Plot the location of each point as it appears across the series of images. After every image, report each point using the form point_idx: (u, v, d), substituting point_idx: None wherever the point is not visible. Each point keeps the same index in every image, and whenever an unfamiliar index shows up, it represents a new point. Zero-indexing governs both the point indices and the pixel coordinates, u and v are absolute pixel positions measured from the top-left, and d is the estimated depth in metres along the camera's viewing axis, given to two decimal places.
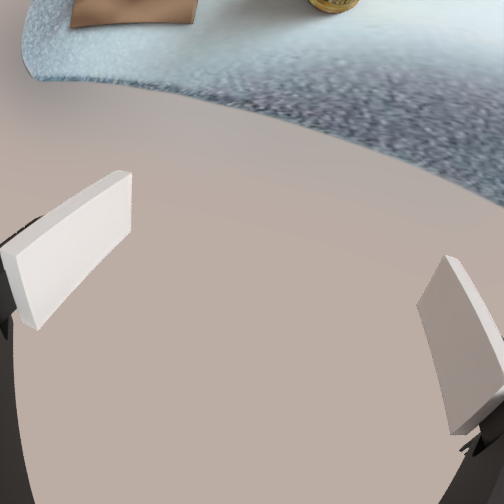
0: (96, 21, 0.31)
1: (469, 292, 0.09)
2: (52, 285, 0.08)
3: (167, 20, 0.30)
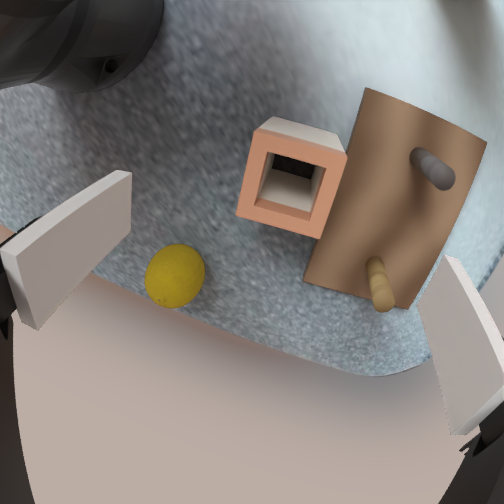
0: (426, 270, 0.28)
1: (469, 292, 0.09)
2: (52, 285, 0.08)
3: (475, 171, 0.23)
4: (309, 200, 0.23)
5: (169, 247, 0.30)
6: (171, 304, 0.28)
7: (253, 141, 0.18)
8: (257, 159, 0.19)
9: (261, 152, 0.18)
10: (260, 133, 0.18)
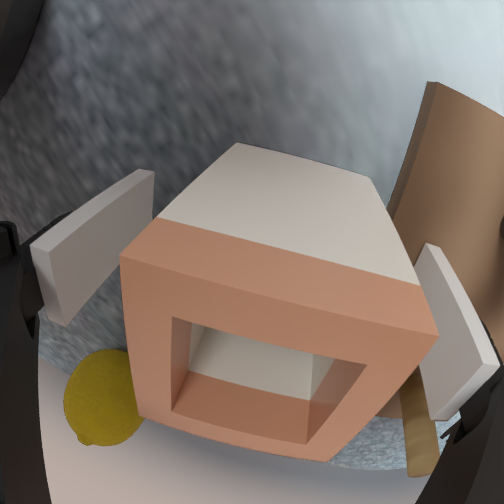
0: None
1: (448, 278, 0.10)
2: (80, 282, 0.09)
3: None
4: None
5: (91, 362, 0.17)
6: (102, 445, 0.15)
7: (125, 285, 0.05)
8: (150, 332, 0.06)
9: (156, 317, 0.06)
10: (140, 262, 0.05)
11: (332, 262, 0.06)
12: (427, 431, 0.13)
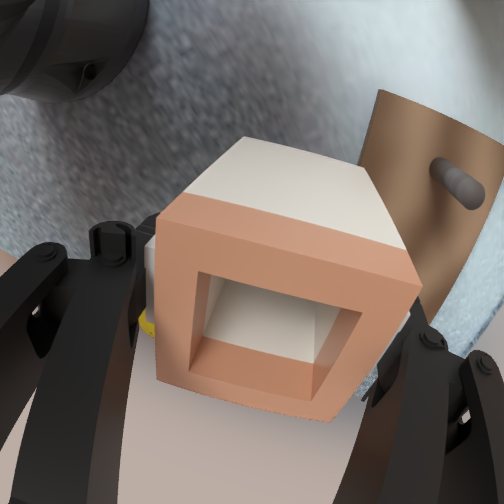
0: (444, 292, 0.25)
1: None
2: None
3: (499, 182, 0.19)
4: (313, 318, 0.12)
5: None
6: None
7: (159, 244, 0.07)
8: (177, 288, 0.07)
9: (184, 273, 0.07)
10: (174, 223, 0.06)
11: (330, 228, 0.07)
12: None
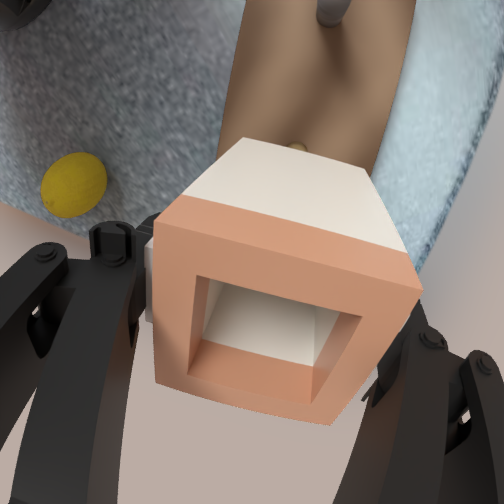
0: (369, 160, 0.23)
1: None
2: None
3: (408, 29, 0.17)
4: (313, 321, 0.11)
5: (69, 154, 0.24)
6: (60, 208, 0.22)
7: (157, 248, 0.06)
8: (175, 292, 0.07)
9: (182, 276, 0.07)
10: (172, 227, 0.06)
11: (330, 231, 0.07)
12: None
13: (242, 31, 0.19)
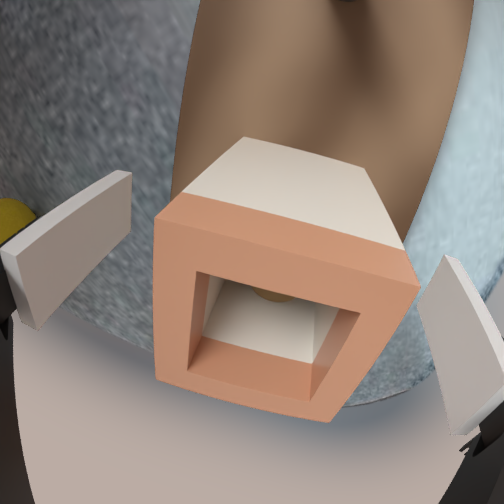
0: (403, 219, 0.14)
1: (469, 292, 0.09)
2: (52, 285, 0.08)
3: (469, 14, 0.09)
4: (312, 318, 0.12)
5: None
6: None
7: (157, 244, 0.07)
8: (175, 288, 0.07)
9: (182, 272, 0.07)
10: (172, 223, 0.06)
11: (329, 229, 0.07)
12: None
13: (202, 11, 0.11)
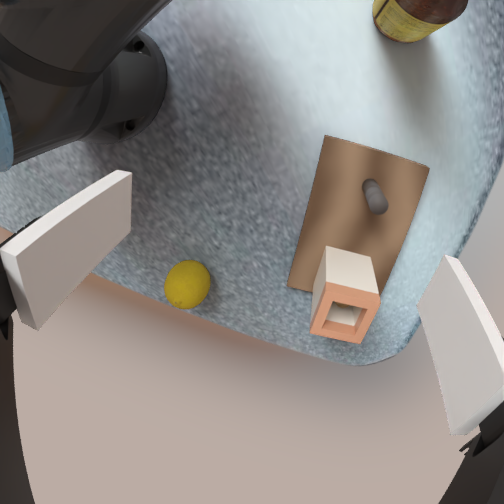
0: (385, 274, 0.37)
1: (469, 292, 0.09)
2: (52, 285, 0.08)
3: (420, 192, 0.31)
4: (352, 313, 0.34)
5: (182, 263, 0.39)
6: (185, 306, 0.37)
7: (324, 295, 0.29)
8: (326, 305, 0.30)
9: (329, 301, 0.30)
10: (329, 291, 0.29)
11: (360, 289, 0.30)
12: None
13: (313, 194, 0.34)
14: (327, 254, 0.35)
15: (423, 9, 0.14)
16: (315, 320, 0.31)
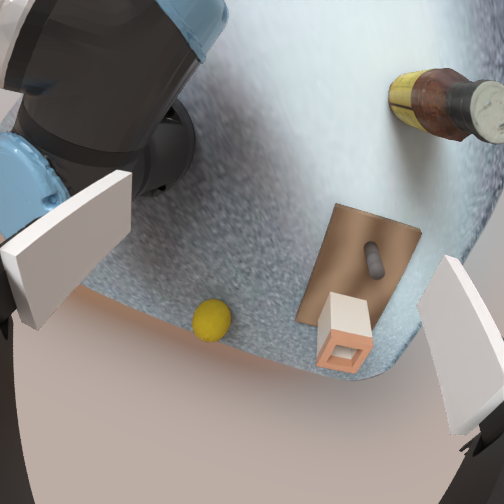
0: (378, 313, 0.44)
1: (469, 292, 0.09)
2: (52, 285, 0.08)
3: (412, 252, 0.39)
4: (350, 347, 0.41)
5: (207, 303, 0.46)
6: (211, 340, 0.44)
7: (330, 340, 0.37)
8: (330, 347, 0.37)
9: (333, 344, 0.37)
10: (334, 338, 0.36)
11: (358, 334, 0.37)
12: None
13: (322, 252, 0.41)
14: (331, 301, 0.42)
15: (438, 134, 0.21)
16: (321, 357, 0.38)
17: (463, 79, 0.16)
